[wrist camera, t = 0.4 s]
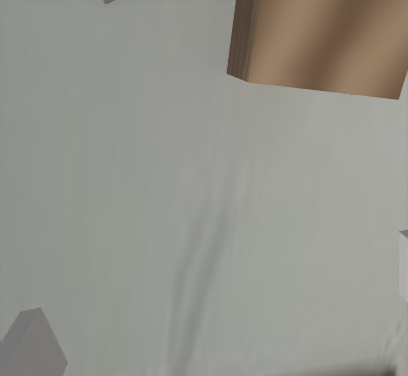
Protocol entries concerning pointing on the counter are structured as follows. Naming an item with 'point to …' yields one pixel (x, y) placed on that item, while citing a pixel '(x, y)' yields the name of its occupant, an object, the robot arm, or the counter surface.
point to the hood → (322, 45)
